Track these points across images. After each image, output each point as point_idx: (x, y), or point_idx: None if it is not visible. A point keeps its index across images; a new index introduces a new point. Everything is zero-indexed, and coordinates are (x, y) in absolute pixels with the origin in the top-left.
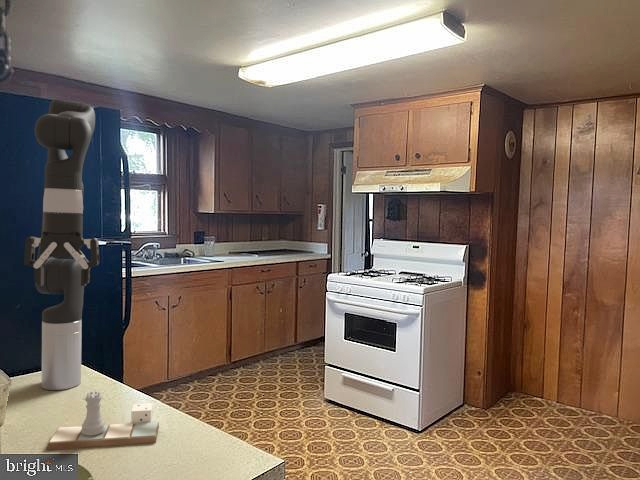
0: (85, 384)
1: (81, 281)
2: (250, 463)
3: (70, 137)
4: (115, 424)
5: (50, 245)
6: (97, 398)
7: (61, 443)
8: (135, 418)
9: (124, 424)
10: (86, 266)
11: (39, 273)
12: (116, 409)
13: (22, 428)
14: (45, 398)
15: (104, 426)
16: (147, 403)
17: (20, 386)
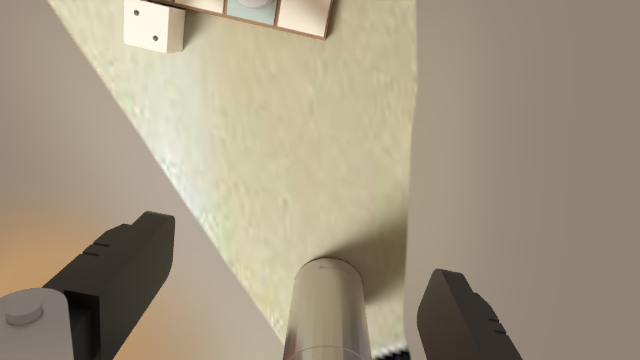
0: (285, 273)
1: (154, 229)
2: None
3: None
4: (212, 10)
5: None
6: None
7: None
8: (167, 6)
9: (193, 2)
10: (10, 307)
11: (480, 335)
12: (220, 126)
13: (388, 92)
14: (353, 226)
15: (234, 7)
16: (136, 45)
17: (397, 297)
